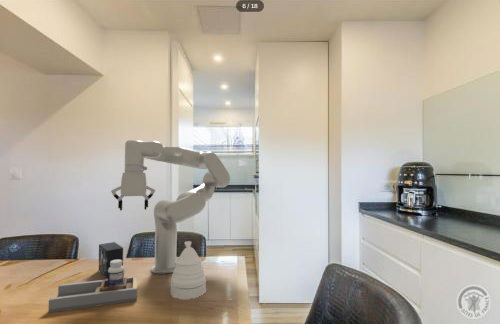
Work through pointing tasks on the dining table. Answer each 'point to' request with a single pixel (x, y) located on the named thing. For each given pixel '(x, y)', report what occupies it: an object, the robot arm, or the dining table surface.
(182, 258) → the honey pot
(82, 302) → the bay
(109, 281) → the pill bottle
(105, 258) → the small box
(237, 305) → the dining table surface
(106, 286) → the crate
